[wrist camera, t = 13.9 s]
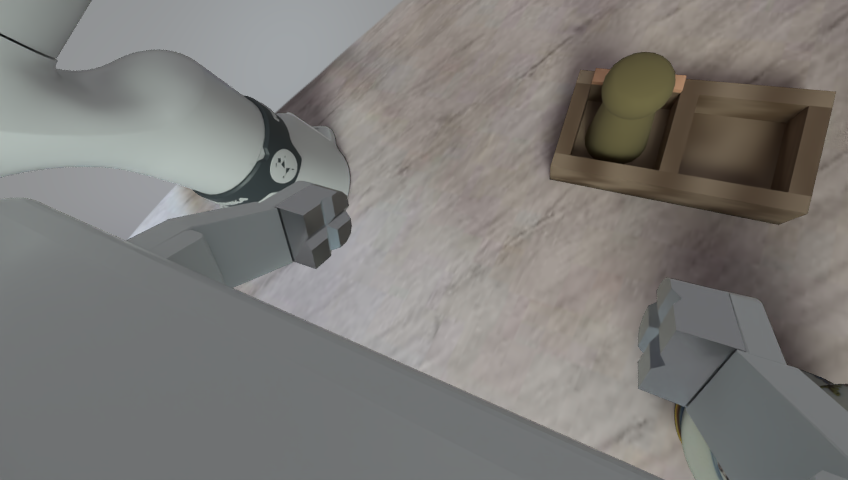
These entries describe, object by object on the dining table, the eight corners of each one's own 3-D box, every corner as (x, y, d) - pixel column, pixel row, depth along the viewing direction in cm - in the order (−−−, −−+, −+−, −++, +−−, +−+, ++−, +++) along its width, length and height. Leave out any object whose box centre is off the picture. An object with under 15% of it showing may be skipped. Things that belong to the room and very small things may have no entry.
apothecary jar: (748, 328, 31) (982, 346, 15) (876, 464, 27) (1408, 704, 10) (629, 398, 33) (716, 485, 16) (732, 535, 29) (990, 837, 12)
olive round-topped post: (600, 105, 38) (621, 30, 28) (659, 123, 36) (704, 48, 26) (574, 153, 38) (585, 95, 28) (631, 173, 36) (665, 119, 26)
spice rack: (549, 179, 39) (550, 164, 35) (578, 88, 40) (581, 63, 36) (778, 224, 32) (811, 212, 28) (805, 111, 33) (841, 83, 29)
